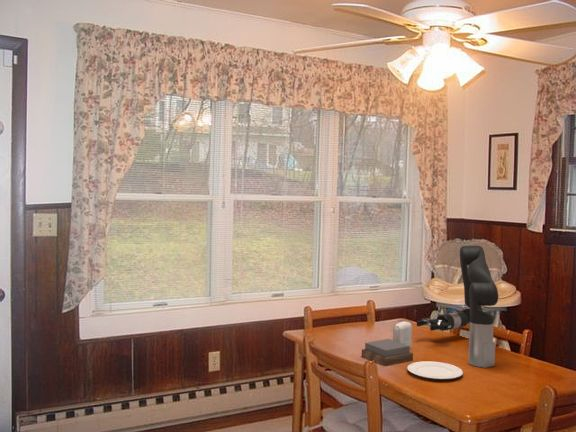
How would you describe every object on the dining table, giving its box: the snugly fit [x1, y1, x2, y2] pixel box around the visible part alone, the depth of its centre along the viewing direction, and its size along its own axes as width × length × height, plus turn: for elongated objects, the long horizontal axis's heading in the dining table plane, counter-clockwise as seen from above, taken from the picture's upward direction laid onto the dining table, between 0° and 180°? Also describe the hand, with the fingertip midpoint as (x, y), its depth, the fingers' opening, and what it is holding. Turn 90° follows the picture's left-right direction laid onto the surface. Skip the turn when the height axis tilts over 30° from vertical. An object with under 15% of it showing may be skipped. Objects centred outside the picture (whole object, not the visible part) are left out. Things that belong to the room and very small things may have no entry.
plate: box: [406, 360, 464, 381], centre depth 214 cm, size 21×21×2 cm
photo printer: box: [392, 321, 413, 349], centre depth 247 cm, size 10×4×12 cm, turn 134°
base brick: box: [361, 348, 414, 367], centre depth 233 cm, size 15×15×3 cm
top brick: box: [364, 338, 411, 358], centre depth 233 cm, size 13×13×3 cm
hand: (423, 326), depth 254 cm, fingers open, 8 cm apart
